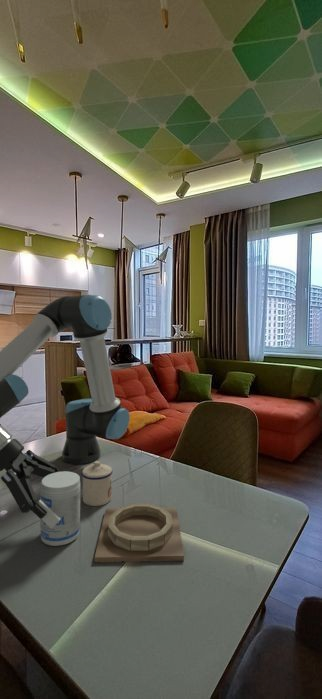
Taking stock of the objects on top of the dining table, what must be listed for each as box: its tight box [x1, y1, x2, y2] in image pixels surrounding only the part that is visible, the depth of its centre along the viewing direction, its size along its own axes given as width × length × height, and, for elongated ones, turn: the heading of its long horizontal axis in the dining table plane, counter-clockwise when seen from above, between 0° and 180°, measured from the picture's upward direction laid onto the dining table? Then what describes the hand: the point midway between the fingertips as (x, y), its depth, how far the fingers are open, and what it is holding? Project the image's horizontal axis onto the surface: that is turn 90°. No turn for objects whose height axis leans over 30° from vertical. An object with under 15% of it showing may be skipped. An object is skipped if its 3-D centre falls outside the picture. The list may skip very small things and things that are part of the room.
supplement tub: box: [39, 470, 81, 547], centre depth 84 cm, size 10×10×15 cm
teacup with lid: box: [81, 460, 113, 507], centre depth 103 cm, size 12×9×12 cm
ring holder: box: [94, 502, 185, 563], centre depth 85 cm, size 20×20×4 cm
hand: (63, 507), depth 83 cm, fingers open, 13 cm apart
